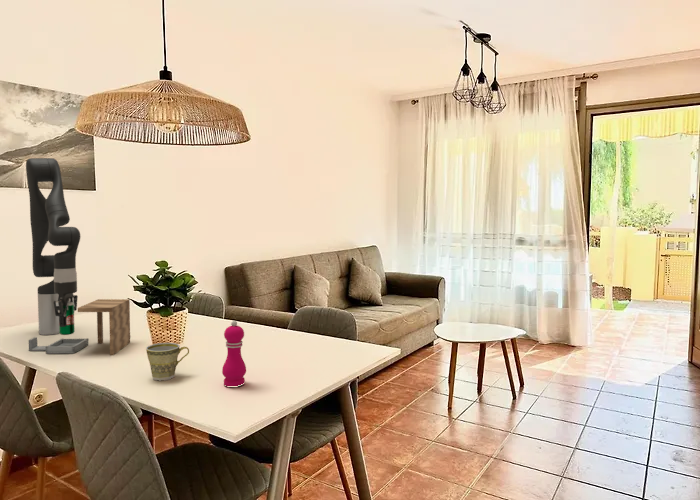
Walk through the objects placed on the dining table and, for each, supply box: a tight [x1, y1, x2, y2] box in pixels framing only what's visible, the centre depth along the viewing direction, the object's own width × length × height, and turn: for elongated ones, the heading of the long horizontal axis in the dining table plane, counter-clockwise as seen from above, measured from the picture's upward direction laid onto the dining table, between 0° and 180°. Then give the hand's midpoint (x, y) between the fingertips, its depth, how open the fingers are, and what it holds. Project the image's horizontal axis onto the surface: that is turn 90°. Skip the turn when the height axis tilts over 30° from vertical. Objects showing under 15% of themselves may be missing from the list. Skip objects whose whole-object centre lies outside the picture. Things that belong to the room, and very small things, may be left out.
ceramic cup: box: [145, 342, 190, 382], centre depth 162 cm, size 13×10×10 cm
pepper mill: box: [221, 320, 247, 386], centre depth 155 cm, size 7×7×20 cm
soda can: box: [58, 302, 75, 336], centre depth 190 cm, size 5×5×12 cm
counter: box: [77, 298, 131, 356], centre depth 193 cm, size 18×12×18 cm, turn 5°
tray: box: [28, 336, 89, 354], centre depth 191 cm, size 12×18×4 cm, turn 95°
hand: (66, 324), depth 190 cm, fingers closed on soda can, 5 cm apart
